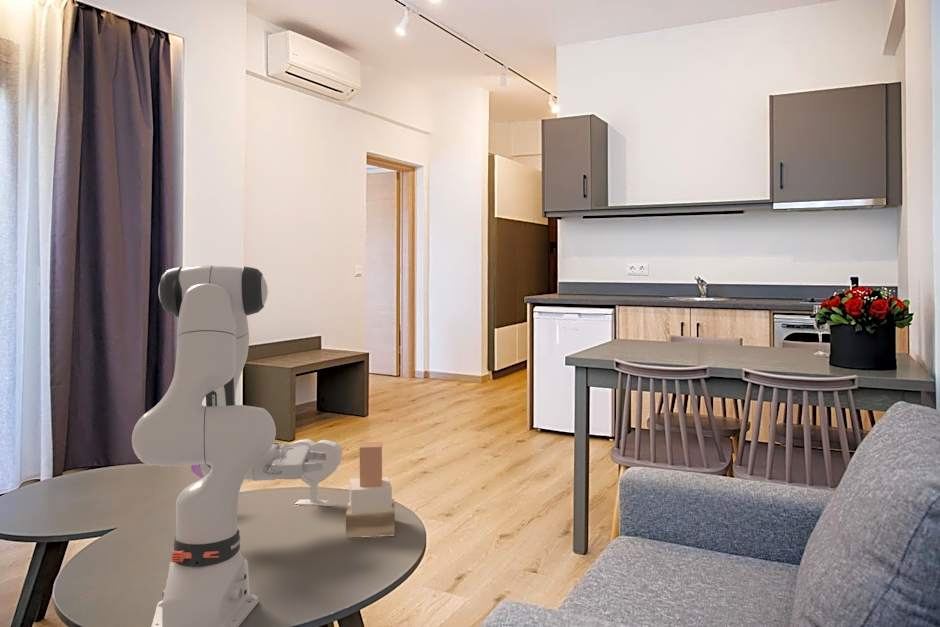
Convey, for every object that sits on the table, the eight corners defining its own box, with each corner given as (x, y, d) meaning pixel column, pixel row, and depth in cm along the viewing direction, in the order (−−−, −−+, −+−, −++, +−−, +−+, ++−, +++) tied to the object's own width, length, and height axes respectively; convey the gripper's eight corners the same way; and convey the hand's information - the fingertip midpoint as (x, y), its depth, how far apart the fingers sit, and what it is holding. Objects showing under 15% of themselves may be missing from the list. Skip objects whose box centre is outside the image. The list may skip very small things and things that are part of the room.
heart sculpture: (284, 504, 196) (284, 441, 196) (291, 499, 201) (290, 438, 201) (337, 507, 195) (337, 443, 194) (343, 501, 200) (342, 439, 199)
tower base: (394, 537, 172) (394, 513, 172) (345, 539, 171) (345, 515, 171) (394, 521, 184) (394, 498, 184) (348, 522, 183) (348, 500, 183)
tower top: (391, 511, 174) (391, 487, 174) (351, 514, 172) (351, 490, 171) (388, 499, 184) (388, 476, 183) (349, 501, 182) (349, 478, 181)
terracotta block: (381, 486, 175) (381, 446, 174) (359, 486, 174) (359, 447, 174) (382, 480, 180) (381, 442, 180) (361, 480, 180) (360, 442, 179)
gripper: (261, 460, 163) (321, 458, 165) (275, 440, 183) (328, 439, 185) (261, 486, 163) (321, 485, 165) (275, 464, 183) (328, 462, 185)
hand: (325, 460), depth 175 cm, fingers open, 8 cm apart
